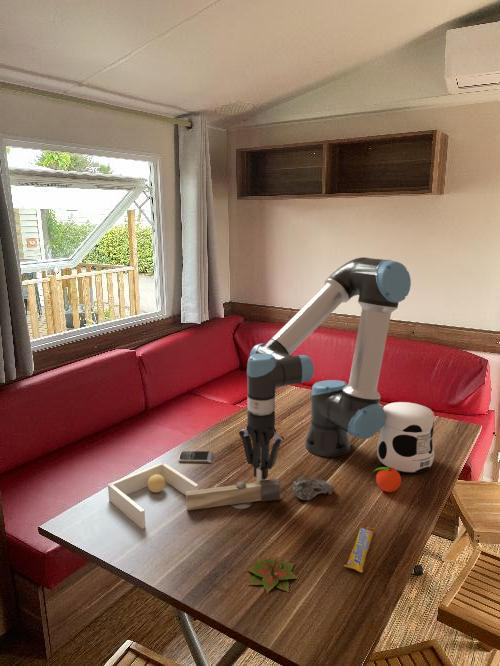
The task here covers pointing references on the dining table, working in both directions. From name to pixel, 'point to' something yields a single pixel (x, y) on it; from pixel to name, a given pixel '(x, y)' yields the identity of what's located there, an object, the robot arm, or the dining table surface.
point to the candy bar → (360, 549)
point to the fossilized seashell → (311, 488)
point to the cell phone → (196, 457)
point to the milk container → (407, 437)
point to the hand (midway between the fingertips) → (260, 487)
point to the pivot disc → (242, 505)
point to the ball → (156, 483)
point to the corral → (140, 481)
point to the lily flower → (272, 573)
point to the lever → (233, 494)
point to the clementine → (388, 479)
